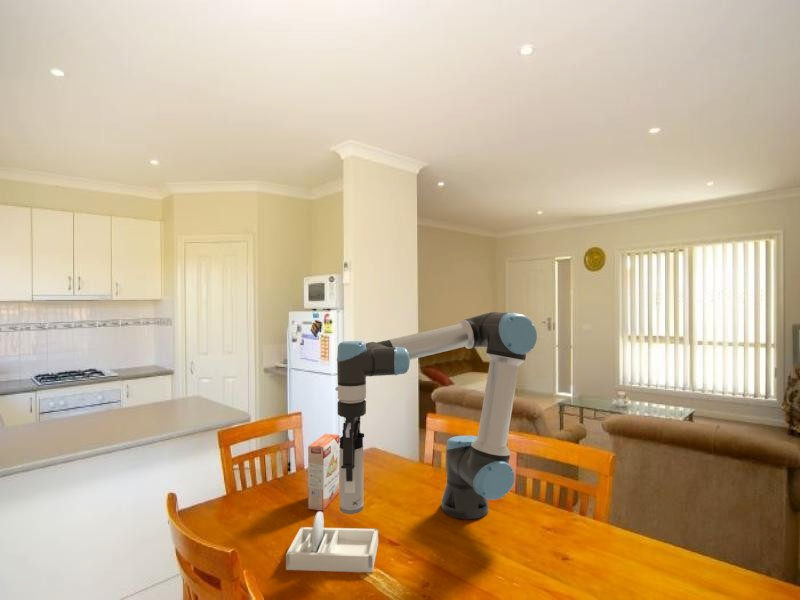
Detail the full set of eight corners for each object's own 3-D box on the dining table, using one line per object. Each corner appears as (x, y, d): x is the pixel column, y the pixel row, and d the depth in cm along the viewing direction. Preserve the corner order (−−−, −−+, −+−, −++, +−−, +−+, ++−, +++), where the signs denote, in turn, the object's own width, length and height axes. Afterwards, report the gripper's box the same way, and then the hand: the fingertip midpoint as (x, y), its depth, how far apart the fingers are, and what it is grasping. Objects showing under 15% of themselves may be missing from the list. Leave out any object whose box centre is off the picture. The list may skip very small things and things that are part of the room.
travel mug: (360, 515, 112) (360, 438, 112) (336, 513, 113) (336, 436, 113) (367, 504, 118) (367, 430, 118) (344, 502, 119) (343, 429, 119)
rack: (378, 543, 122) (377, 503, 122) (372, 572, 109) (372, 527, 109) (301, 541, 123) (300, 501, 123) (286, 569, 110) (285, 525, 110)
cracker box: (324, 512, 140) (323, 447, 140) (307, 510, 141) (306, 445, 141) (340, 493, 154) (340, 433, 154) (324, 491, 155) (324, 432, 155)
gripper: (344, 391, 125) (345, 471, 125) (329, 408, 106) (330, 503, 106) (370, 392, 125) (370, 472, 125) (360, 409, 106) (360, 503, 106)
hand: (352, 486), depth 116 cm, fingers closed on travel mug, 6 cm apart
